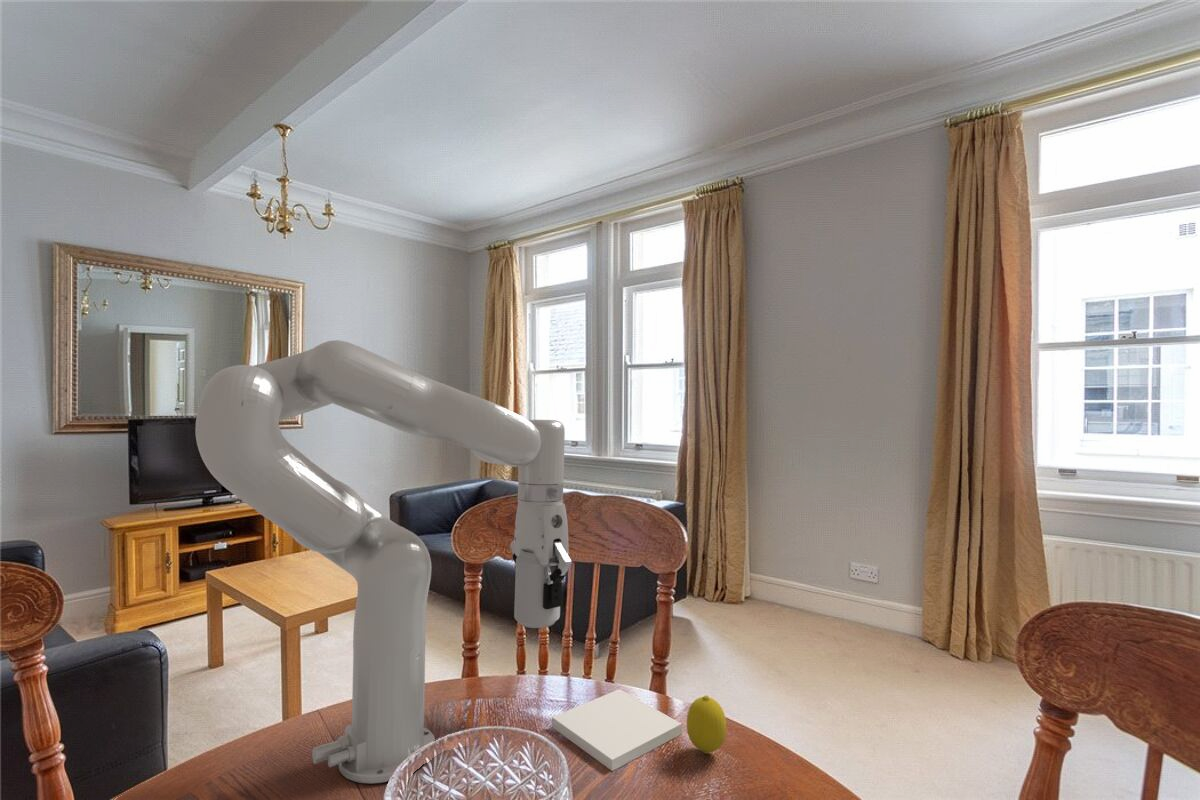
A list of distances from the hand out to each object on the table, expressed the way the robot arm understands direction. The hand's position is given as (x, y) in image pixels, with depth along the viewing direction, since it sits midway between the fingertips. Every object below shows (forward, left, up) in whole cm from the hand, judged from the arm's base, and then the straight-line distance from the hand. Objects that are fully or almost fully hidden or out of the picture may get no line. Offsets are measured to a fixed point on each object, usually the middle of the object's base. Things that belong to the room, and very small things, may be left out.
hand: (537, 600), depth 93 cm
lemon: (+11, -26, -18) cm, 33 cm away
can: (0, 0, -4) cm, 4 cm away
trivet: (+5, -14, -17) cm, 23 cm away
